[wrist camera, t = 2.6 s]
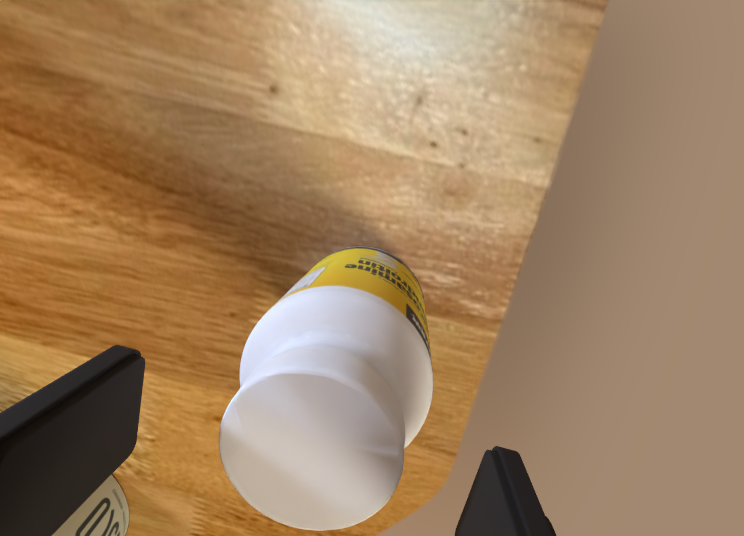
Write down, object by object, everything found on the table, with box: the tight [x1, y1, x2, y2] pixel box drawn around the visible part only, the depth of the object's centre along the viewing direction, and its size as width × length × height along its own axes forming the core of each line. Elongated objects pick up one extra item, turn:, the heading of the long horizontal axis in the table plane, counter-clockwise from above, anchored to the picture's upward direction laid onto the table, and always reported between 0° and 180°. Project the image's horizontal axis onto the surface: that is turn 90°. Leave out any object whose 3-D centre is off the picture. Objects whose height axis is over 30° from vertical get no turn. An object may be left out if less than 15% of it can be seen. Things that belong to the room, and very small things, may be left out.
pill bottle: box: [219, 246, 433, 531], centre depth 15 cm, size 6×6×12 cm
